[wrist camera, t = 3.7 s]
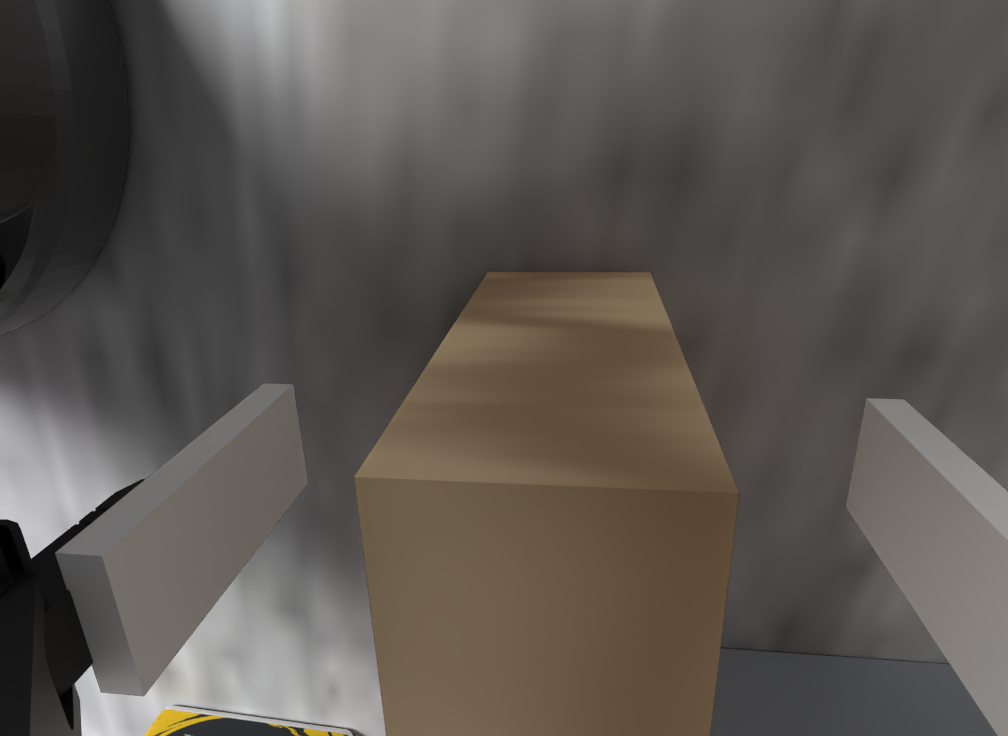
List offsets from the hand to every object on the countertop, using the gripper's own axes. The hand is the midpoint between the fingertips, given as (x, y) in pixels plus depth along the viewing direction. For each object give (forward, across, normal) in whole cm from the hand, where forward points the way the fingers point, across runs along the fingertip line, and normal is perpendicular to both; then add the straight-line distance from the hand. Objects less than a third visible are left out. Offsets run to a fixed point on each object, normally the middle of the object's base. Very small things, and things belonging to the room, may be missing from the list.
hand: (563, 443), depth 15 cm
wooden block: (+2, 0, 0) cm, 2 cm away
